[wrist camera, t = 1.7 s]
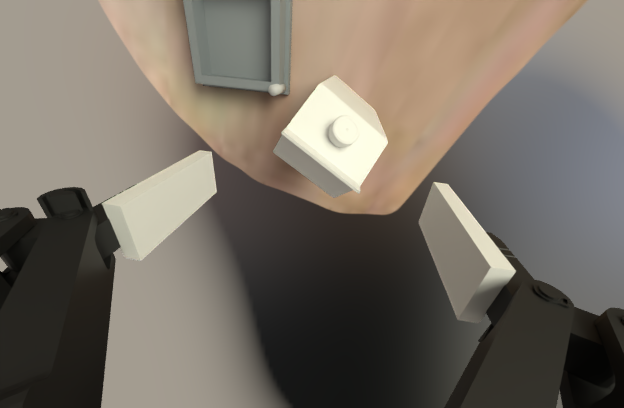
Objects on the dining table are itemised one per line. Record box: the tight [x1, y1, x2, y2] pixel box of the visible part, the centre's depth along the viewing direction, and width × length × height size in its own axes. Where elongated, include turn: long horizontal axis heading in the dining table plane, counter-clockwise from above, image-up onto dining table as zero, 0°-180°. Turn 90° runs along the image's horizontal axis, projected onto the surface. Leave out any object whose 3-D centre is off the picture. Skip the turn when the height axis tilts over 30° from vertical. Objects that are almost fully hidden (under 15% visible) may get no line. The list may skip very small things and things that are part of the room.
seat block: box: [183, 0, 292, 96], centre depth 28 cm, size 12×12×5 cm
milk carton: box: [273, 75, 388, 198], centre depth 25 cm, size 7×7×19 cm
